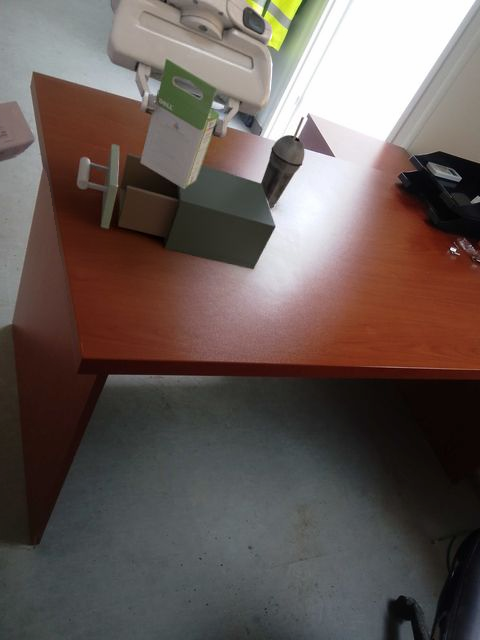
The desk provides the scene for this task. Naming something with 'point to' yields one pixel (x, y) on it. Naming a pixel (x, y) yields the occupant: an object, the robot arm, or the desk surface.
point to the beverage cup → (282, 166)
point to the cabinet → (221, 219)
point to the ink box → (180, 127)
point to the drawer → (134, 194)
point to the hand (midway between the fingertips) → (184, 124)
